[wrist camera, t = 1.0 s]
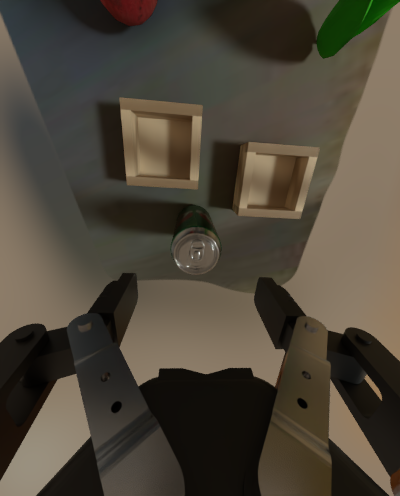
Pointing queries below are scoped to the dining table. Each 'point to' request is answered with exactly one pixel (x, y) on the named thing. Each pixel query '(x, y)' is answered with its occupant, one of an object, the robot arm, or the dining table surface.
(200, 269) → the soda can
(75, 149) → the dining table surface
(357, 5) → the flower
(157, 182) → the oak endcap
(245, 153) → the oak endcap
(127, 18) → the onion
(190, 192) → the dining table surface
